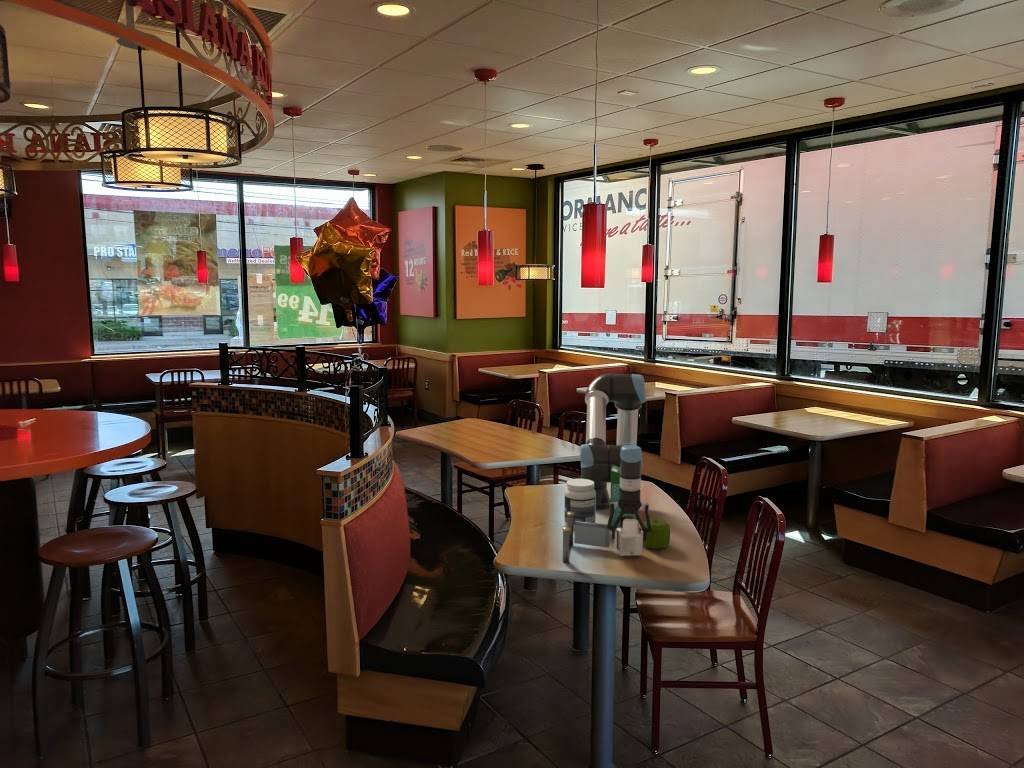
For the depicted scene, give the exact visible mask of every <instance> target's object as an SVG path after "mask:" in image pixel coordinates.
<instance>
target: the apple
mask: <svg viewBox="0 0 1024 768" xmlns="http://www.w3.org/2000/svg"><path fill="white" fill-rule="evenodd" d="M643 523H644V525H645V527H647V522H646V520H644V521H643ZM650 523H651V531H650V532H647V533H646V541H643V546H645V547H646V548H647V549H650V550H661V549H663V548H666V547H668V546H669V545H670V543H671V542H670V541H671V533H672V531H671V526H670V523H668V522H667V521H666V520H664V519H659V518H650ZM641 531H642V529H641ZM641 531H640V532H641Z"/></svg>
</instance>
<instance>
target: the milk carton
mask: <svg viewBox="0 0 1024 768" xmlns="http://www.w3.org/2000/svg"><path fill="white" fill-rule="evenodd" d="M619 493H620V467H617V466H614V465H612V469H611V483H610V494H609V497H610V507H609V508H610V509H609V513H610V512H611V502H618V501H619ZM620 511H621V509H620V507H619V506H617V508H616V509H615V510H614V515H613V519H612V523H611V525H612V526H613V524H614V523H615V521H616V519H617V517H618V515H619V513H620ZM624 516H633V517H634V516H635V514H625V513H624V515H623V517H624ZM620 523H621V520H620V522H619V524H618V526H617V528H620ZM617 528H616V529H617ZM610 531H611V530H610ZM611 532H612V531H611Z"/></svg>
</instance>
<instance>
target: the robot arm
mask: <svg viewBox="0 0 1024 768" xmlns="http://www.w3.org/2000/svg"><path fill="white" fill-rule="evenodd" d="M646 399H647V398H646V387H645V378H644V376H643V375H641V374H636V373H625V374H624V373H604V374H601V375H599V376H597V377H595V378H594V379H593V380H592V381H591V382H590V383H589V385H588V386H587V388H586V390H585V394H584V402H585V404H586V425H585V426H586V431H585V444H581V445H580V450H579V451H580V455H579V456H580V457H579V459H580V468H581V469H580V471H581V472H580V473H581V474H580V479H588V480H591V481H593V482H594V486H595V487H594V489H595V491H596V510H605V509H607V508H610V493H609V490H608V483H609V484H611V469H612V465H614V466H617V467H620V493H619V501H618V502H611V512H610V511H609V516H608V520H607V529H610V530H611V539H612V540H614V550H617V529H616V528H617V526H618V524H619V522H620V520H621V518H622V517H623V515H624V513H625V514H634V517H636V518H637V520H638V522H639V527H640V528H641V529H642V531H640V534H641V535H642V544H641V552H642V551H643V548H644V547H643V546H644V544H643V541H646V533H647V532H650V531H651V523H650V519H651V517H650V513H649V510H650V509H649V508H650V504H649V503H642V501H641V495H642V494H641V493H642V492H641V491H642V490H641V487H642V486H641V485H642V470H643V455H642V447H640V446H638V445H637V443H638V442H637V441H638V438H637V437H638V424H639V423H638V422H639V421H638V420H639V410H640V409H641V408H642V406H643V404H644V403H646V402H647V400H646ZM611 402H612V403H614V406H615V408H616V409H617V417H616V418H617V425H616V444H615V445H614V444H606V442H607V441H606V440H607V437H606V436H607V433H606V430H607V423H606V421H607V405H608V403H611ZM617 506H619V507H620V509H621V511H620V513H619V515H618V517H617V519H616V521H615V523H614V524H613V526H612V525H611V523H612V519H613V515H614V510H615V509H616V508H617ZM641 507H642V510H644V516H645V521H646V522H647V527H645V525H644V523H643V522H644V521H643V519H642V517H641V515H640V511H639V510H640V509H641Z"/></svg>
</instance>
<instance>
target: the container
mask: <svg viewBox="0 0 1024 768" xmlns="http://www.w3.org/2000/svg"><path fill="white" fill-rule="evenodd" d="M639 528H640V524H639V522H638V520H637V518H636V516H634V515H633V516H624V517H622V518H621V523H620V528H617V549H616V551H617V553H618V554H619V556H624V557H625V556H641V555H642V550H641V544H642V535H641V531H640V530H639Z"/></svg>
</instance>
